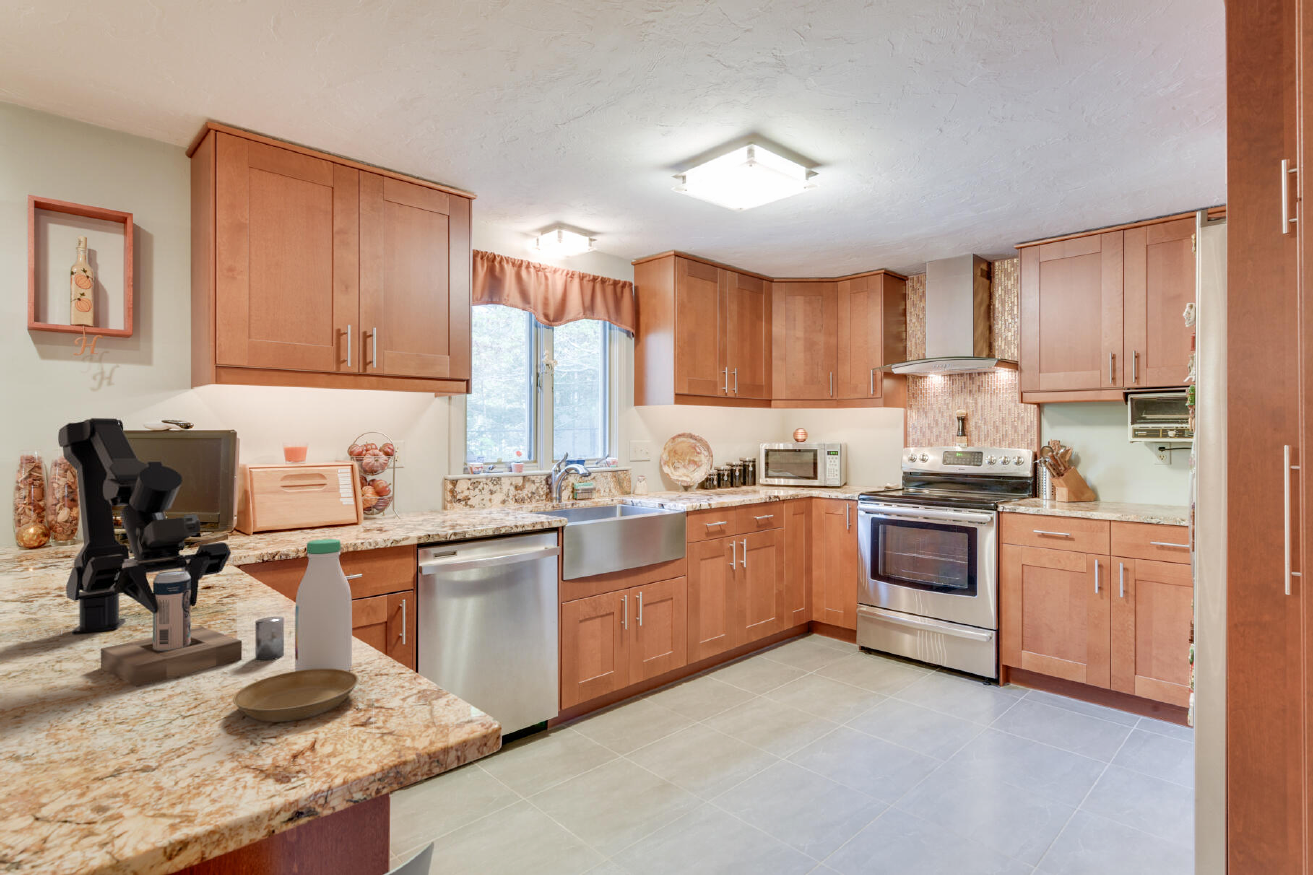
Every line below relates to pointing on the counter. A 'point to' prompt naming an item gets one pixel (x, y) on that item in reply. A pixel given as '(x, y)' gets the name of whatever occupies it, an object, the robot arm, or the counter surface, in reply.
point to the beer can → (172, 611)
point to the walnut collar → (169, 657)
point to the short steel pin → (269, 638)
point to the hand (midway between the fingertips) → (175, 608)
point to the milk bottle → (323, 611)
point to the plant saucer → (295, 694)
